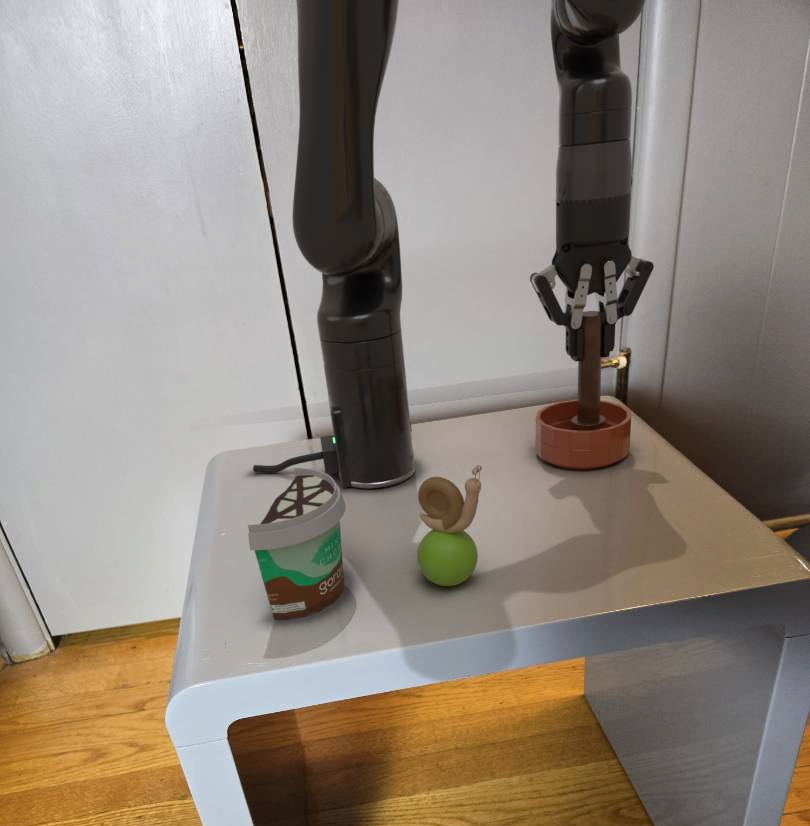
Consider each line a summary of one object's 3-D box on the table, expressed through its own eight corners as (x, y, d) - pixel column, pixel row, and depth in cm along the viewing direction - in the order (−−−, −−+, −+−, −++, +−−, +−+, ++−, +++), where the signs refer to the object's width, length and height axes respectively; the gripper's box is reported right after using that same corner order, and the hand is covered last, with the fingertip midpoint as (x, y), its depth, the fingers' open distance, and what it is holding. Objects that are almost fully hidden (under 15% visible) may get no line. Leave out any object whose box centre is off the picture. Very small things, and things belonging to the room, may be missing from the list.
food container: (335, 633, 62) (318, 529, 57) (267, 629, 64) (245, 528, 59) (370, 558, 73) (358, 465, 68) (311, 556, 74) (295, 465, 69)
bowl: (552, 477, 85) (553, 437, 82) (525, 443, 94) (524, 406, 92) (644, 464, 86) (647, 423, 83) (607, 432, 95) (609, 394, 93)
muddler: (577, 436, 87) (579, 319, 80) (566, 425, 90) (567, 312, 84) (610, 431, 87) (615, 314, 80) (598, 420, 90) (601, 307, 84)
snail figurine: (471, 606, 64) (464, 480, 58) (408, 589, 67) (395, 468, 61) (498, 575, 68) (494, 454, 62) (438, 561, 71) (428, 445, 65)
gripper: (642, 182, 80) (634, 342, 88) (517, 197, 79) (521, 357, 87) (674, 185, 73) (662, 357, 82) (538, 202, 72) (540, 375, 81)
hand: (589, 357), depth 84 cm, fingers closed on muddler, 2 cm apart
